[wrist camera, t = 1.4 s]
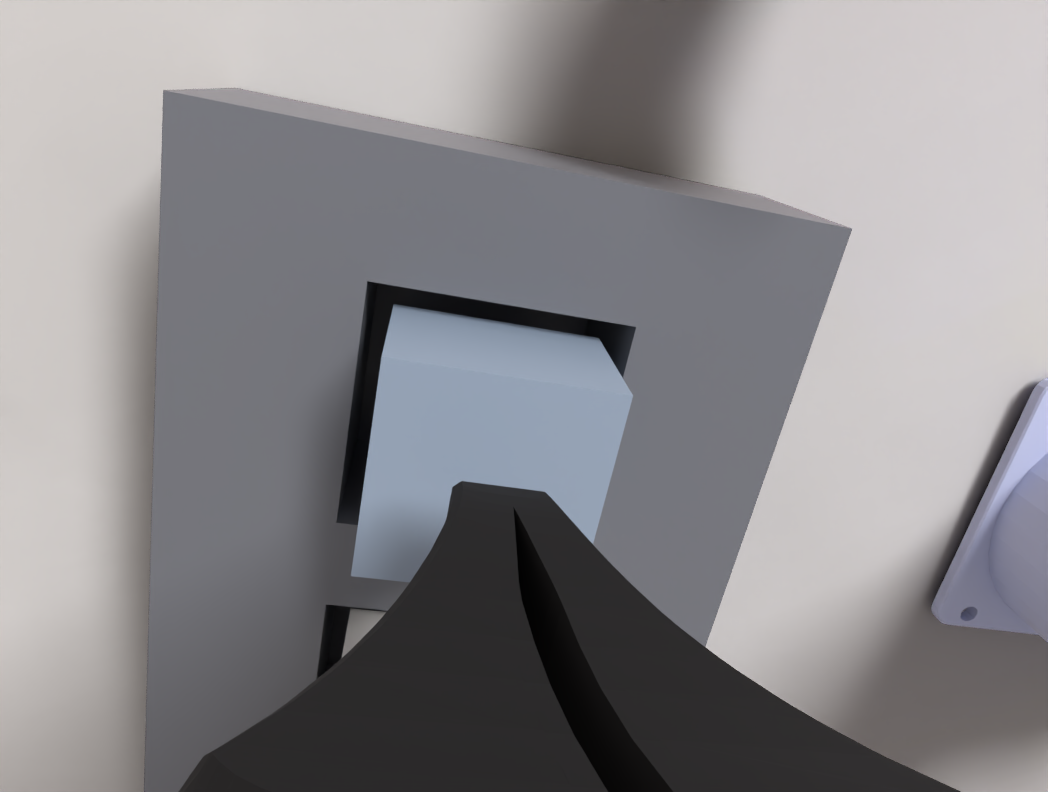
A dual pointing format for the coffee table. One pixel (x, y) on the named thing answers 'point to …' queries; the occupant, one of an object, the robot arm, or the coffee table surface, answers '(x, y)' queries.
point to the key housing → (355, 356)
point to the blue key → (482, 428)
